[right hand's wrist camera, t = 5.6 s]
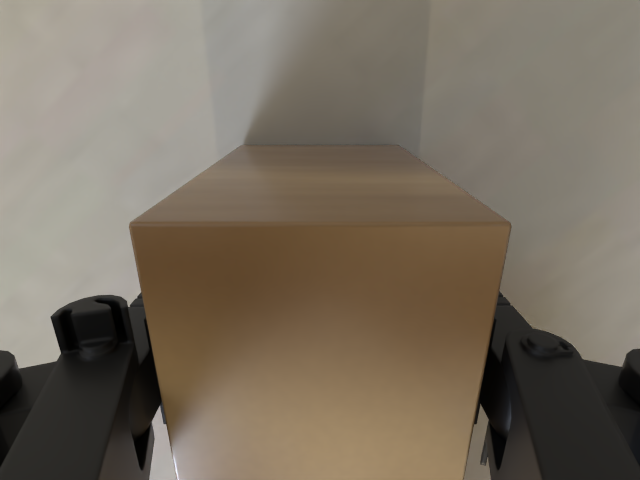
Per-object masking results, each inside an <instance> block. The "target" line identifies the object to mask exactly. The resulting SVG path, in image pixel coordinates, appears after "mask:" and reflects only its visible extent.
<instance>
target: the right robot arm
mask: <svg viewBox="0 0 640 480" xmlns="http://www.w3.org/2000/svg"><path fill="white" fill-rule="evenodd" d="M51 320H52V324H53V327H54V330H55V334H56V337H57V341H58V344H59V347H60V351H61V355H60V357H59V358H58V360H57V361H56V362H52V363H46V364H41V365H36V366H31V367H26V368H21V369H19V368H18V365H17V362H16V359H15V357H14V355H13V354H11V353H10V352H8V351H1V350H0V480H149V475H150V468H151V461H152V453H153V446H154V431H153V426H152V420H153V418H154V416H155V414H156V412H157V410H158V408H159V406H160V407H161V412H162V418H163V423H164V424H166V419H165V414H164V409H163V404H162V398H161V393H160V388H159V382H158V377H157V372H156V367H155V361H154V356H153V351H152V345H151V340H150V335H149V330H148V324H147V319H146V314H145V308H144V303H143V298H142V292H141V293H140V294H139V296H138V298H137V299H135V300H134V301H133V302H132V303H131V305H130V307H128V305H127V301H126V300H125V299H123V298H122V297H119V296H114V295H98V296H93V297H88V298H83V299H80V300H78V301H75V302H72V303H69V304H68V305H66V306H64V307H62V308H60V309H59V310H57V311H56V312H55V313H54V314H53V315H52V316H51ZM480 403H481V405H482V407H483V409H484V411H485V413H486V415H487V417H488V419H489V421H488V426H487V431H486V436H485V441H484V446H483V450H482V455H481V462H480V464H481V465H485V466H486V462H487V457H488V460H489V467H490V474H491V480H640V349H633V350H631V351H630V352H629V353H627V355H626V358H625V360H624V363H623V366H622V367H619V366H613V365H608V364H603V363H598V362H593V361H588V360H584V359H582V358H581V356H580V354H579V352H578V351H577V350H576V349H575V348H574V346H573V345H572V344H570V343H569V342H567V341H566V340H564V339H563V338H561V337H559V336H556V335H554V334H551V333H549V332H546V331H541V330H537V329H533V328H532V327H531V326H530V325H529V324H528V323H527V322H526V320H525V319H524V318H523V317H522V316H521V315H520V314H519V313H518V311H517V310H516V309H515V308H514V307H513V306H511V305H510V303H509V301H508V300H507V299H506V298H505V297H503V295H502V294H501V292H500V291H499V295H498V300H497V305H496V310H495V316H494V321H493V326H492V331H491V337H490V342H489V347H488V353H487V358H486V363H485V368H484V374H483V379H482V384H481V390H480V395H479V400H478V405H477V411H476V416H475V421H474V424H477V419H478V414H479V409H480Z"/></svg>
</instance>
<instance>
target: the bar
mask: <svg viewBox="0 0 640 480" xmlns="http://www.w3.org/2000/svg"><path fill="white" fill-rule="evenodd" d="M129 229H130V234H131V240H132V245H133V250H134V255H135V261H136V266H137V271H138V277H139V282H140V287H141V292H142V298H143V303H144V308H145V314H146V319H147V324H148V330H149V335H150V340H151V345H152V351H153V356H154V361H155V367H156V372H157V377H158V382H159V388H160V393H161V398H162V404H163V409H164V414H165V419H166V425H167V430H168V435H169V441H170V446H171V451H172V457H173V462H174V467H175V472H176V478H177V480H463V479H464V474H465V469H466V464H467V458H468V453H469V448H470V442H471V437H472V432H473V427H474V421H475V416H476V411H477V405H478V400H479V395H480V390H481V384H482V379H483V374H484V368H485V363H486V358H487V353H488V347H489V342H490V337H491V331H492V326H493V321H494V316H495V310H496V305H497V300H498V295H499V289H500V284H501V279H502V273H503V268H504V263H505V258H506V252H507V247H508V242H509V236H510V231H511V223H510V222H509V221H507V220H506V219H504V218H503V217H502V216H500V215H499V214H497V213H496V212H494V211H493V210H491V209H490V208H489V207H487V206H486V205H484V204H483V203H481V202H480V201H478V200H477V199H476V198H474V197H473V196H471V195H470V194H468V193H467V192H466V191H464V190H463V189H461V188H460V187H458V186H457V185H455V184H454V183H453V182H451V181H450V180H448V179H447V178H445V177H444V176H442V175H441V174H440V173H438V172H437V171H435V170H434V169H432V168H431V167H430V166H428V165H427V164H425V163H424V162H422V161H421V160H419V159H418V158H417V157H415V156H414V155H412V154H411V153H409V152H408V151H406V150H405V149H404V148H402V147H401V146H399V145H241V146H239V147H238V148H237V149H235V150H234V151H232V152H231V153H229V154H228V155H227V156H225V157H224V158H222V159H221V160H219V161H218V162H216V163H215V164H214V165H212V166H211V167H209V168H208V169H206V170H205V171H204V172H202V173H201V174H199V175H198V176H196V177H195V178H193V179H192V180H191V181H189V182H188V183H186V184H185V185H183V186H182V187H181V188H179V189H178V190H176V191H175V192H173V193H172V194H170V195H169V196H168V197H166V198H165V199H163V200H162V201H160V202H159V203H158V204H156V205H155V206H153V207H152V208H150V209H149V210H147V211H146V212H145V213H143V214H142V215H140V216H139V217H137V218H136V219H135V220H133V221H132V222H130V225H129Z"/></svg>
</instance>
